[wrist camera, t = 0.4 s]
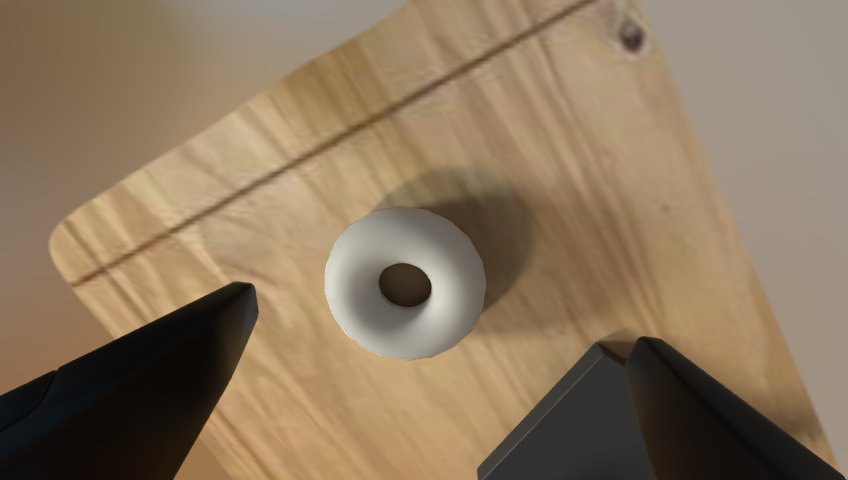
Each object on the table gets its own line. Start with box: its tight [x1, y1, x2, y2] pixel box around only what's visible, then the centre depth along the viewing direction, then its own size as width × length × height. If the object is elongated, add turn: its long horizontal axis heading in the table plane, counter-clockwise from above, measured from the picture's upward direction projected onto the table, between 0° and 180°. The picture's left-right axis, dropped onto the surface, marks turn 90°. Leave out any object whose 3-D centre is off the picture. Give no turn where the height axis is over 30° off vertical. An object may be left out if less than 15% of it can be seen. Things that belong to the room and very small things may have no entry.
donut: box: [325, 206, 487, 361], centre depth 23 cm, size 10×3×10 cm
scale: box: [477, 342, 656, 480], centre depth 26 cm, size 14×13×3 cm
